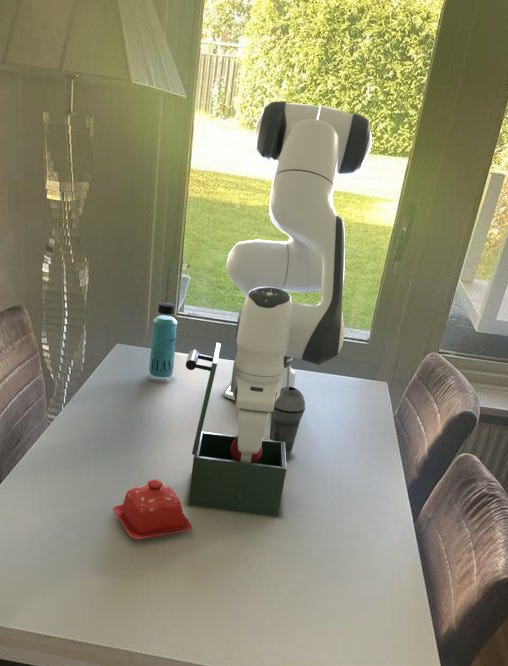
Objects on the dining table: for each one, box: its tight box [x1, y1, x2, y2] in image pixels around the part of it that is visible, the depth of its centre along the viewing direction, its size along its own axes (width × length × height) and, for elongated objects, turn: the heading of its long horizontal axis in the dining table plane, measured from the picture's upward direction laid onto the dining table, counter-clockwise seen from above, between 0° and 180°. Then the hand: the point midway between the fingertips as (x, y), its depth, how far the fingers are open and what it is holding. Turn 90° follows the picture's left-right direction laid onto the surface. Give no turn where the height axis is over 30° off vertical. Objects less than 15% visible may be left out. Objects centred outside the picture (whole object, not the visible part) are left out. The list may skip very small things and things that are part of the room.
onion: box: [231, 435, 262, 463], centre depth 128 cm, size 6×6×8 cm
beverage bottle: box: [148, 302, 178, 378], centre depth 180 cm, size 6×7×20 cm
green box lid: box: [185, 342, 222, 456], centre depth 124 cm, size 17×12×5 cm
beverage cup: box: [269, 366, 306, 461], centre depth 145 cm, size 7×7×20 cm
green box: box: [188, 431, 287, 517], centre depth 131 cm, size 17×12×10 cm
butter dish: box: [112, 478, 193, 540], centre depth 119 cm, size 12×12×8 cm
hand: (245, 453), depth 129 cm, fingers closed on onion, 6 cm apart
